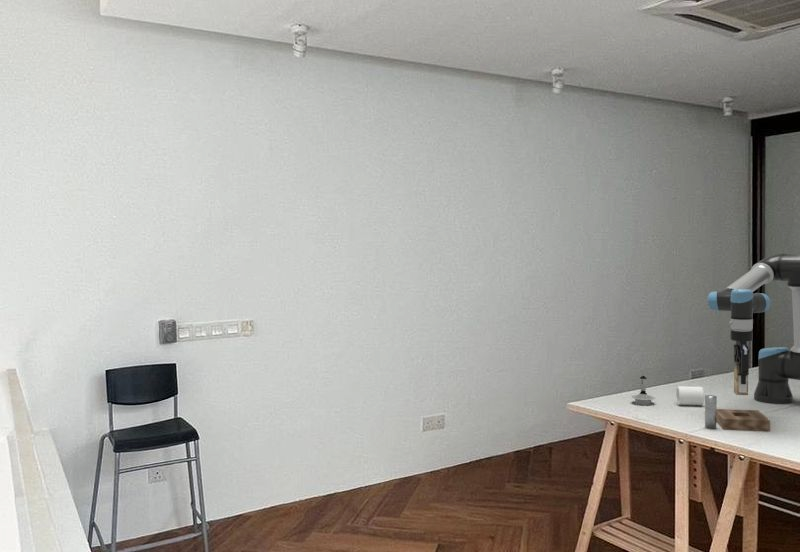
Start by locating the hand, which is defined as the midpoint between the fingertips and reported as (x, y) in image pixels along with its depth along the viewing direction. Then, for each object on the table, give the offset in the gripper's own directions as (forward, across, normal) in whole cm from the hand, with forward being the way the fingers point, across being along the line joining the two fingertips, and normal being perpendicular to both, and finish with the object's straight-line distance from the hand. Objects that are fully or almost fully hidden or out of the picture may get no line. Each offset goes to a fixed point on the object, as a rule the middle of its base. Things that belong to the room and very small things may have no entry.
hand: (741, 391), depth 266 cm
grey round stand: (+13, -32, -32) cm, 47 cm away
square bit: (+1, 0, 0) cm, 1 cm away
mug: (+13, -34, -13) cm, 39 cm away
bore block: (+13, 0, 0) cm, 13 cm away
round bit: (+13, +6, -12) cm, 19 cm away
